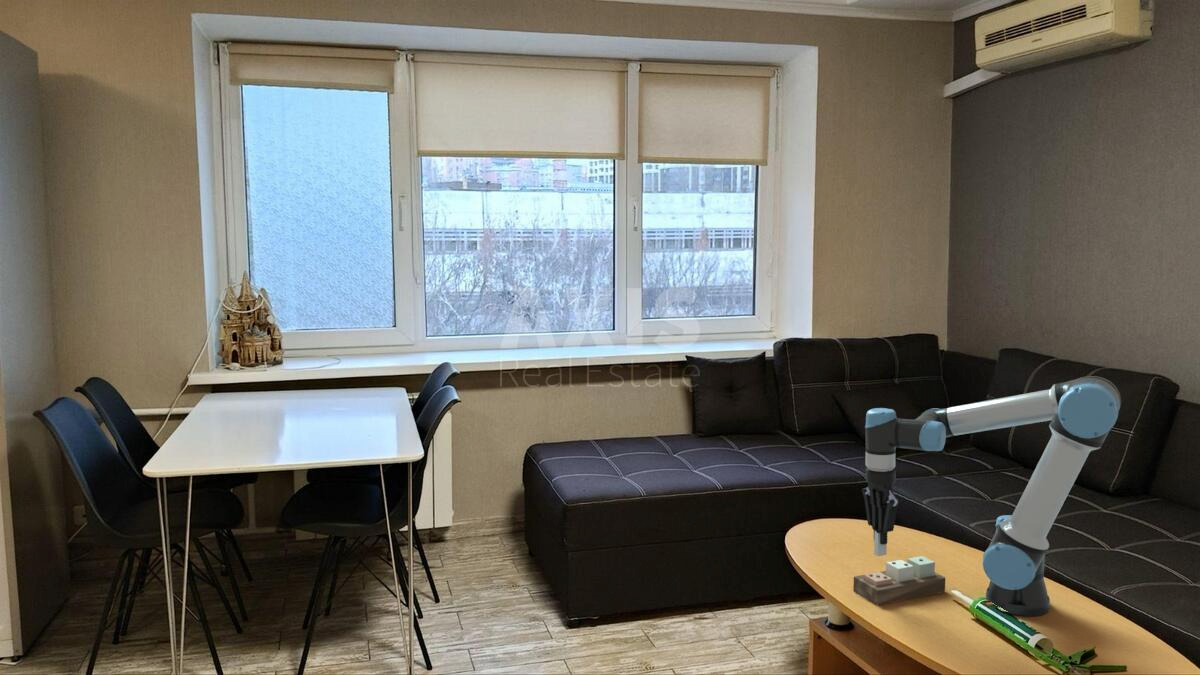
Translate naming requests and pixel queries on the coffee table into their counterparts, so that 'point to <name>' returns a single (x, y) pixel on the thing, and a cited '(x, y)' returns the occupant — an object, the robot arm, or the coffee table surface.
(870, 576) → the tile three
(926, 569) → the tile one
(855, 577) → the board
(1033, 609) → the robot arm
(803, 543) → the coffee table surface
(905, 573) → the tile two
